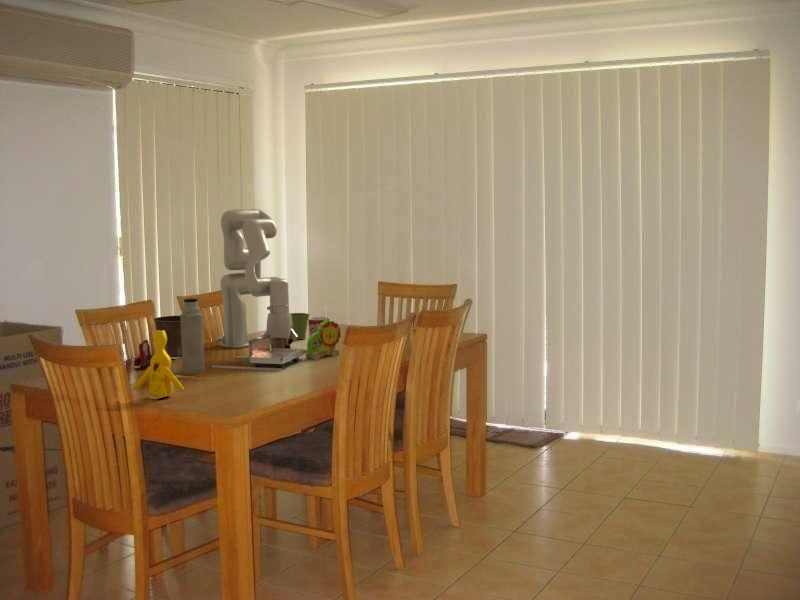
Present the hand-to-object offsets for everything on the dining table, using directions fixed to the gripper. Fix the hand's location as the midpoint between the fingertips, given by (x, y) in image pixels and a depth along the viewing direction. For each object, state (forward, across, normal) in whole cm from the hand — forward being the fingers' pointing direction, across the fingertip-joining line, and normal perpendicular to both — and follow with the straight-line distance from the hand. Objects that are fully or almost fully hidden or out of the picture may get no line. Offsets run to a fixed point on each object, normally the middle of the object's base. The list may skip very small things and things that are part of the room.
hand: (281, 354), depth 375 cm
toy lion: (+2, +18, +2) cm, 18 cm away
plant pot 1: (+2, -43, -8) cm, 44 cm away
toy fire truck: (+2, -43, -30) cm, 52 cm away
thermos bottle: (+2, -18, -38) cm, 42 cm away
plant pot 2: (+2, -12, +45) cm, 47 cm away
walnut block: (+2, 0, 0) cm, 2 cm away
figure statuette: (+2, -9, -76) cm, 77 cm away
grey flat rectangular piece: (+1, -1, -19) cm, 19 cm away
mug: (+2, +8, +22) cm, 23 cm away
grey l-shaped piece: (+1, +7, -19) cm, 20 cm away
